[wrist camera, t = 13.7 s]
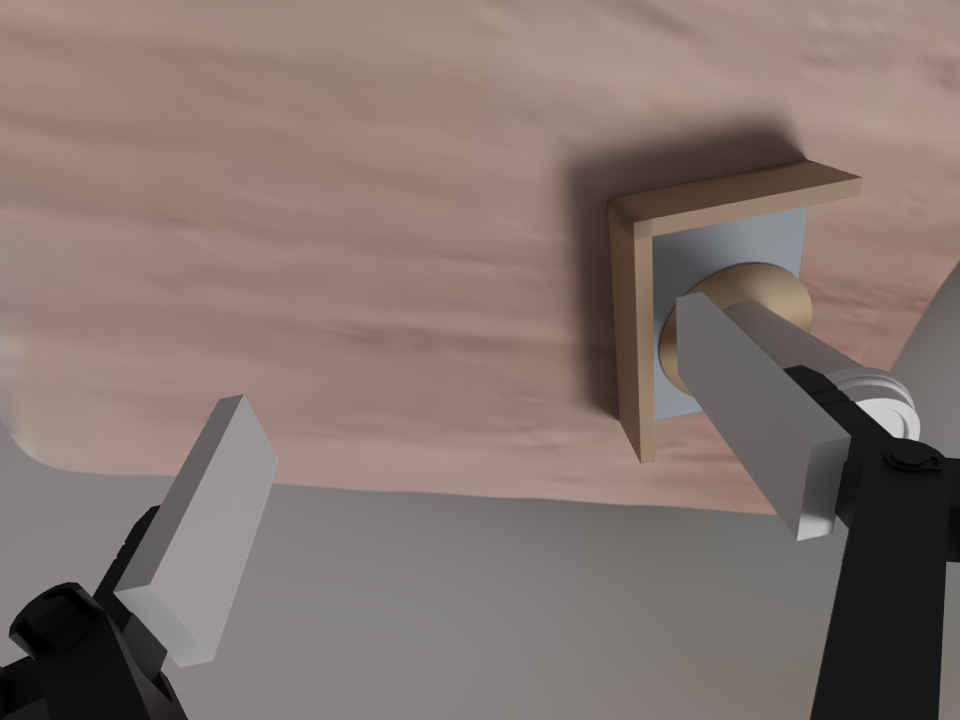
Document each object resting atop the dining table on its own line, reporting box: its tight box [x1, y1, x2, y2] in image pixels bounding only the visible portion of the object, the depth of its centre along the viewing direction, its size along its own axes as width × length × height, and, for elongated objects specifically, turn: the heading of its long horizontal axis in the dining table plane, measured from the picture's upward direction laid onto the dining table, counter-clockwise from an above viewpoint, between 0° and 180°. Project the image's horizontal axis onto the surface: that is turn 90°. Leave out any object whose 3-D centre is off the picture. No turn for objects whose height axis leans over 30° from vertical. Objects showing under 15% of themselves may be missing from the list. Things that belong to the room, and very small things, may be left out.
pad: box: [659, 263, 812, 397], centre depth 47 cm, size 13×13×1 cm
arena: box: [608, 160, 863, 464], centre depth 44 cm, size 21×15×6 cm
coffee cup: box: [722, 302, 920, 441], centre depth 40 cm, size 10×10×15 cm
